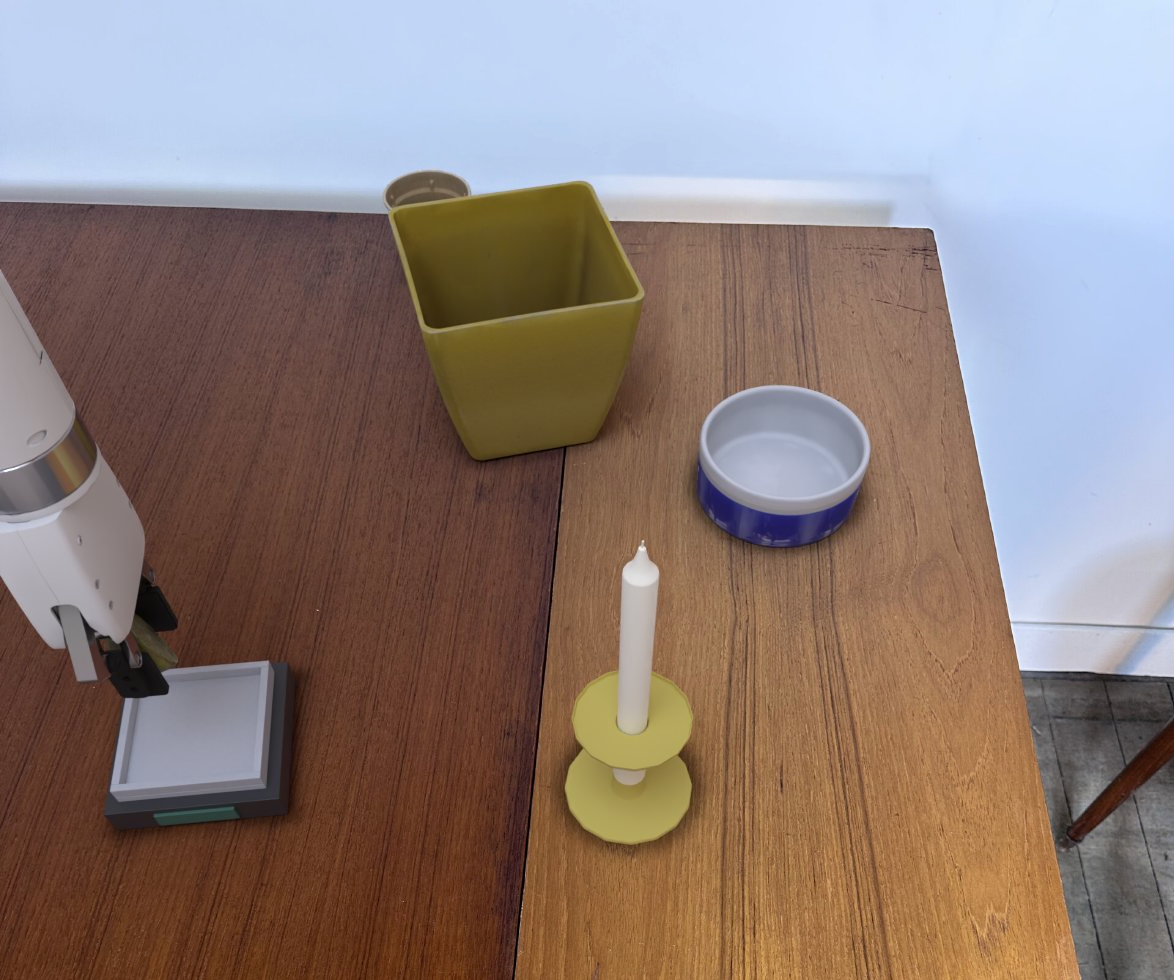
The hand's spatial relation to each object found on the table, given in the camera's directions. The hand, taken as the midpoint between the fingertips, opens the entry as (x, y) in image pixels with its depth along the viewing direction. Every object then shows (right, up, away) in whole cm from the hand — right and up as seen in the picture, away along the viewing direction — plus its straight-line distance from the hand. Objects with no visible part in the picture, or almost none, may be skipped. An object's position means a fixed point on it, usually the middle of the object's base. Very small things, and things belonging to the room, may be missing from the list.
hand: (151, 658), depth 68 cm
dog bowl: (+48, +19, +25) cm, 58 cm away
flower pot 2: (+24, +29, +31) cm, 49 cm away
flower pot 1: (+13, +50, +43) cm, 67 cm away
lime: (0, 0, 0) cm, 1 cm away
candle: (+34, -9, +9) cm, 36 cm away
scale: (0, -6, +10) cm, 12 cm away
